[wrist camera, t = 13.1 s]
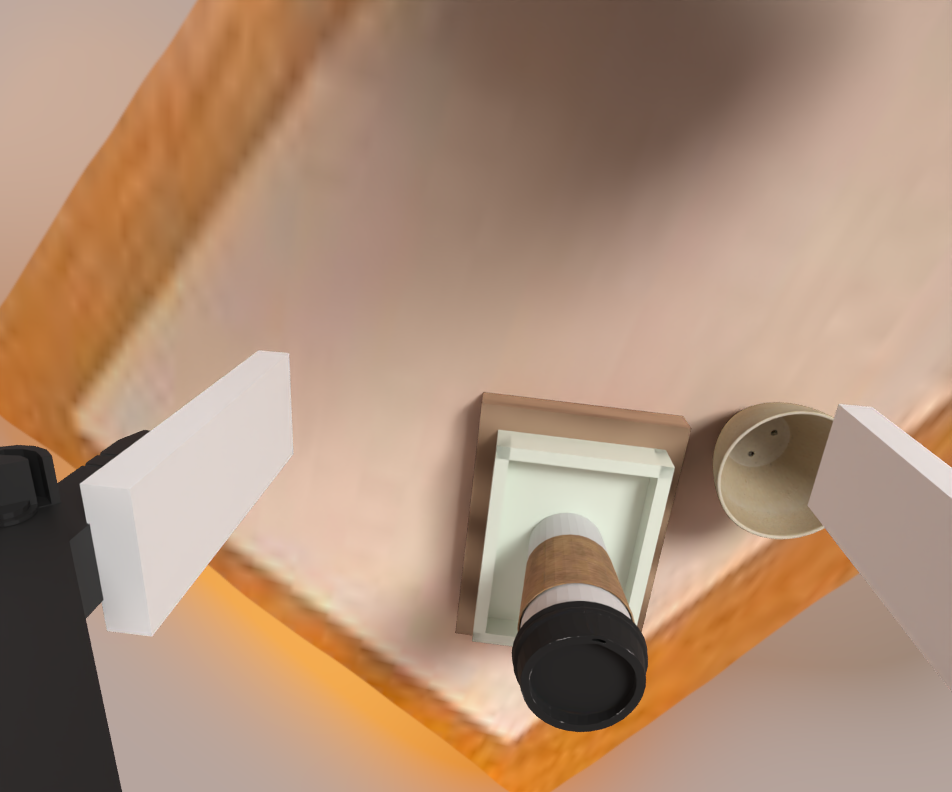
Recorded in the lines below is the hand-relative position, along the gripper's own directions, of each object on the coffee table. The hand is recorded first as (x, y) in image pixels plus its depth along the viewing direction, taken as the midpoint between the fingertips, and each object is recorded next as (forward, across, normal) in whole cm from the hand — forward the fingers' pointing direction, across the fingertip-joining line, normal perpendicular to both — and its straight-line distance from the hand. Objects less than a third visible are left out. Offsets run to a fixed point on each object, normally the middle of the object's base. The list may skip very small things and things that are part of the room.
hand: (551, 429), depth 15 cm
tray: (+30, +5, -23) cm, 39 cm away
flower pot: (+34, +19, -14) cm, 41 cm away
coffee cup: (+30, +5, -23) cm, 38 cm away
